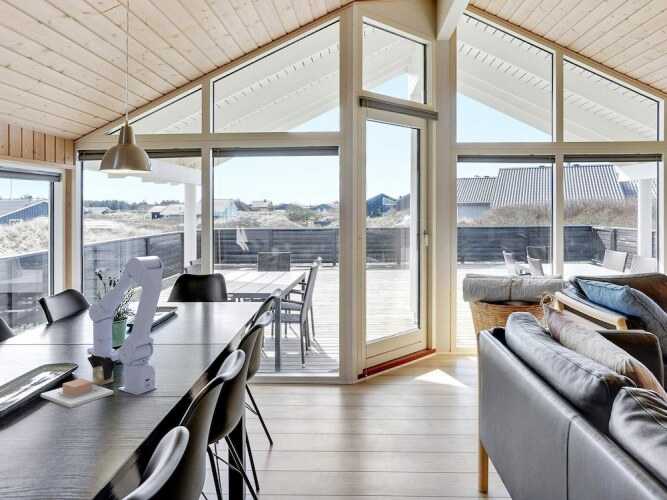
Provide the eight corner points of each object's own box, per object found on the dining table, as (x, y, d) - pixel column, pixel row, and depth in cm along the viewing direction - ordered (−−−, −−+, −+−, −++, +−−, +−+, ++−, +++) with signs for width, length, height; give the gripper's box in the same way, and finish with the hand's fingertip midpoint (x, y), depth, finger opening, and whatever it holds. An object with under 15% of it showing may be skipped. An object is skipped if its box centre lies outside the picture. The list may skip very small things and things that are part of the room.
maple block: (113, 381, 166) (113, 367, 166) (100, 385, 162) (100, 370, 162) (105, 378, 168) (104, 364, 168) (92, 382, 164) (92, 368, 164)
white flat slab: (113, 393, 154) (113, 381, 154) (70, 407, 142) (70, 394, 142) (83, 384, 162) (83, 372, 162) (40, 396, 150) (40, 384, 150)
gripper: (126, 339, 164) (126, 378, 165) (100, 333, 171) (100, 371, 172) (107, 343, 158) (107, 384, 159) (81, 337, 165) (81, 376, 166)
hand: (102, 377), depth 165 cm, fingers closed on maple block, 5 cm apart
